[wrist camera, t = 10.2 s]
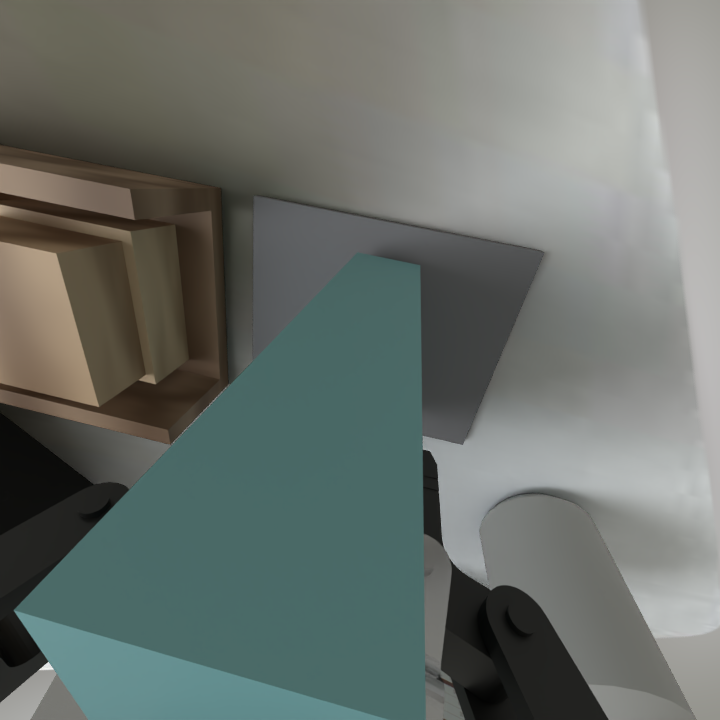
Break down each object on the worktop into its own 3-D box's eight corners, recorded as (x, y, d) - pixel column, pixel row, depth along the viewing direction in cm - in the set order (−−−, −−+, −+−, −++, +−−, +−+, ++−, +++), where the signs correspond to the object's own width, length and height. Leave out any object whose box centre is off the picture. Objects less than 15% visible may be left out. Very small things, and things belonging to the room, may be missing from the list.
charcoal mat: (540, 250, 16) (544, 252, 15) (461, 438, 21) (462, 444, 21) (258, 195, 17) (253, 195, 16) (256, 390, 22) (252, 395, 22)
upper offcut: (121, 241, 15) (56, 253, 12) (146, 374, 18) (98, 407, 15) (-3, 215, 15) (-93, 221, 12) (44, 350, 18) (-19, 378, 16)
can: (599, 546, 24) (738, 823, 14) (495, 559, 27) (544, 803, 16) (576, 474, 21) (727, 750, 11) (463, 497, 24) (497, 740, 13)
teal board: (420, 265, 15) (425, 730, 2) (382, 416, 20) (307, 877, 6) (357, 252, 15) (14, 609, 2) (333, 404, 20) (164, 831, 7)
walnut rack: (220, 188, 17) (106, 189, 11) (228, 384, 22) (157, 458, 16) (-64, 132, 18) (-321, 103, 11) (14, 334, 23) (-130, 386, 17)
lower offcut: (175, 224, 17) (130, 231, 14) (189, 359, 21) (155, 384, 18) (49, 198, 17) (-17, 201, 15) (86, 335, 21) (38, 356, 19)
